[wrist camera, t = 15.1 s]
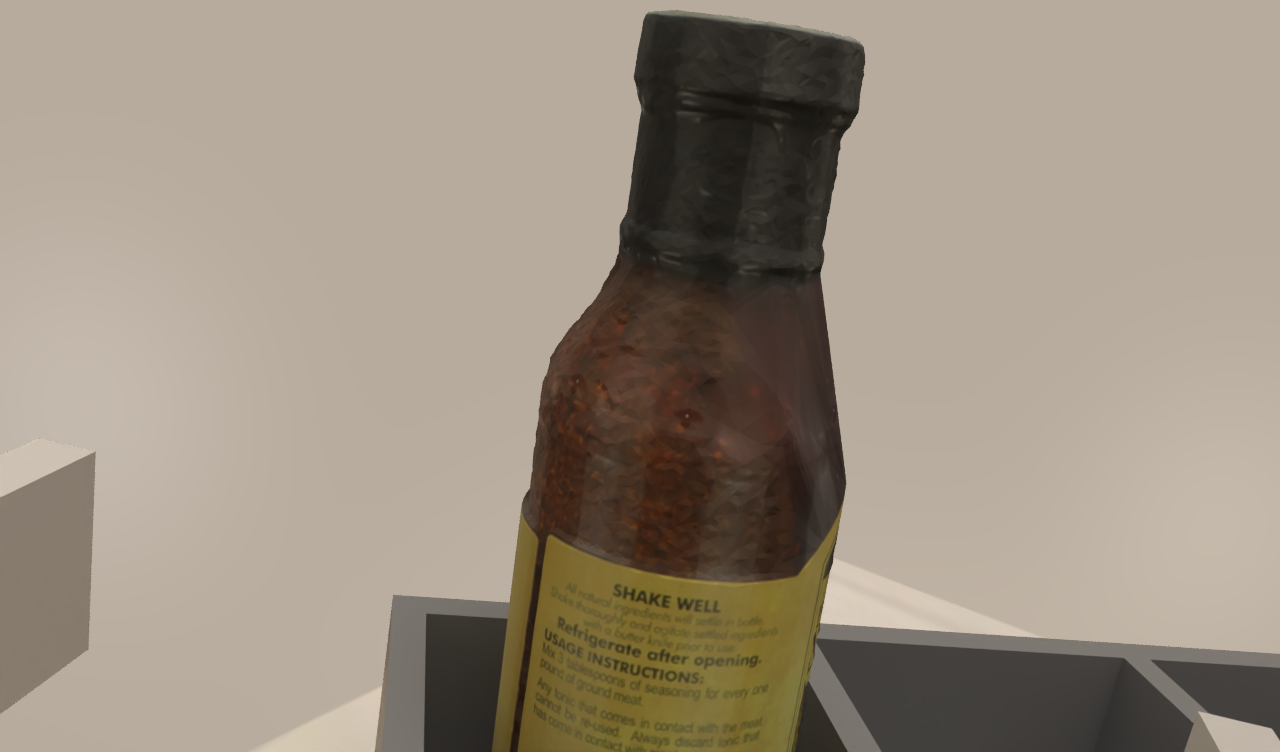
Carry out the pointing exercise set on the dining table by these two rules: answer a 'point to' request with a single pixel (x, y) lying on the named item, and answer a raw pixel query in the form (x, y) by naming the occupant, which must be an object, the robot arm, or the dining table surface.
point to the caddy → (870, 688)
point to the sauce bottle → (692, 418)
